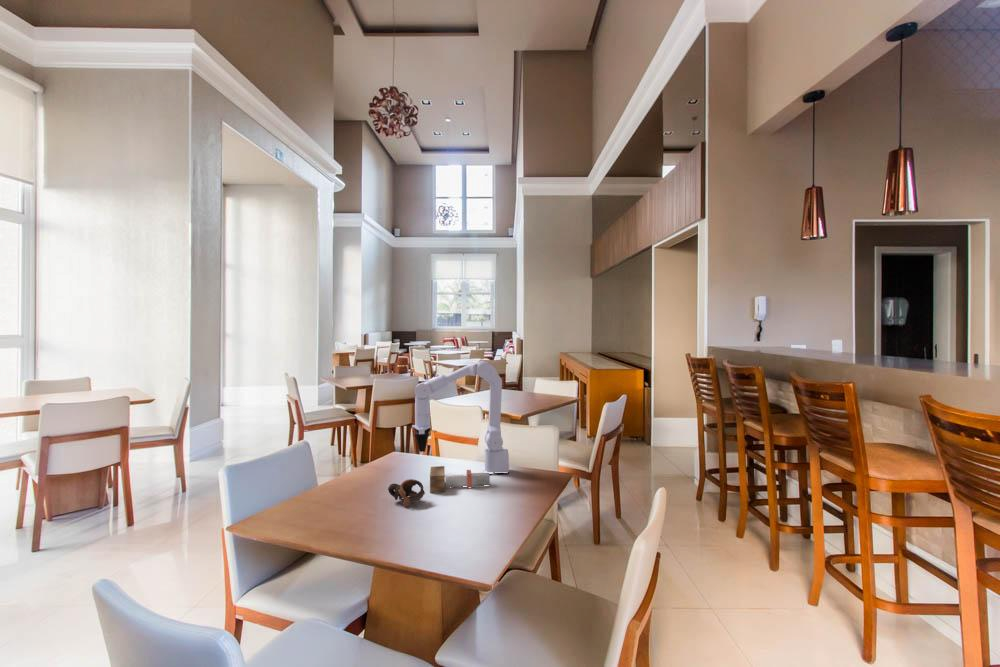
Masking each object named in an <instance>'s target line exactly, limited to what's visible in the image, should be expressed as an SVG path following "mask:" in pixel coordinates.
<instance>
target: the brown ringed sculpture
mask: <svg viewBox="0 0 1000 667" xmlns="http://www.w3.org/2000/svg"><path fill="white" fill-rule="evenodd" d="M416 485H418V486H419V488H420V490H419V491H418V492H417V491H415V490H413V487H414V486H416ZM387 490H388V493H389V495H391V496H392V497H393V498H394V500H395V501H397V500H398V499H399V501H401V500H402V499H403V502H402V506H403V507H405V508H408V507H409V506H410V505H412V504H415V503H418V502H419V501H420V500H421V499H423V497H424V495H425V493H426V492H425V490H424V485H423V484H422V482H421V481H419V480H418V479H413V478H410V479H406V480H403V482H401V484H397V483H391V484H390V485H389V486H388V488H387ZM400 499H401V500H400Z"/></svg>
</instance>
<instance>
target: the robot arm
mask: <svg viewBox="0 0 1000 667" xmlns="http://www.w3.org/2000/svg"><path fill="white" fill-rule="evenodd" d="M476 375H477V376H478V377H480V378H481V379H484V380H485V381H486V382H487V383H488V384H489V398H488V399H489V401H488V402H489V403H488V404H489V405H488V424H487V429H486V430H487V432H486V433H485V435H484V441H485V443H486V446H485V447H484V468H485V471H487V472H493V473H495V472H509V473H510V464H509V463H510V460H509V456H510V455H509V450H508V449H507V448H504V447H503V445H504V441H503V437H502V430H501V429H502V428H501V421H502V420H501V415H502V414H501V413H502V394H503V393H502V390H503V389H502V388H503V381H502V378H501V376H500V375H499V373H498V372H497V370H496V368H495V367H494V366H493V365H492V364H491V363H489V362H487V361H486V360H478V361H477V362H472V363H470V364H467V365H465V366H463V367H460V368H458V369H457V370H454V371H453V372H450V373H448V374H447V375H445V374H443V373H440V374H439V373H437V374H434V377H432V378H430V379H429V378H428V379H425V380H423V382H420V383H418V384H416V386H415V387H414V395H415V397H414V400H415V402H414V424H412V426H411V428H412V429H415V432H414V437H415V439H416V443H417V446H418V451H419V453H423V452H424V453H425V452H426V448H427V444H428V439H429V436H430V431H431V427H432V426H431V402H430V394H431V395H433V394H435V393H437V392H438V393H439V392H440V391H443V390H445V389H447V388H448V386H449V384H450V383H452V382H454V381H457V380H460V379H462V378H464V377H466V376H472V377H473V376H474V377H476Z"/></svg>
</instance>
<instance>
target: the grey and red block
mask: <svg viewBox="0 0 1000 667" xmlns="http://www.w3.org/2000/svg"><path fill="white" fill-rule="evenodd" d="M490 476H491V475H489V473H484V472H472V470H471V469H466V475H457V476H445V489H451V488H450V487H463V486H467V487H472V486H484V485H490V484H491V481H490V480H491V479H490ZM490 486H491V485H490ZM467 487H466V488H467ZM472 488H473V487H472Z"/></svg>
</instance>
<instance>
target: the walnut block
mask: <svg viewBox="0 0 1000 667" xmlns="http://www.w3.org/2000/svg"><path fill="white" fill-rule="evenodd" d="M445 470H446V469H445V466H444V465H442V466H441V465H440V466H430V471H429V472H430V473H429V494H433V493H432V492H443V493H445V491H446V476H445V475H446V474H445V472H446V471H445Z"/></svg>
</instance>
